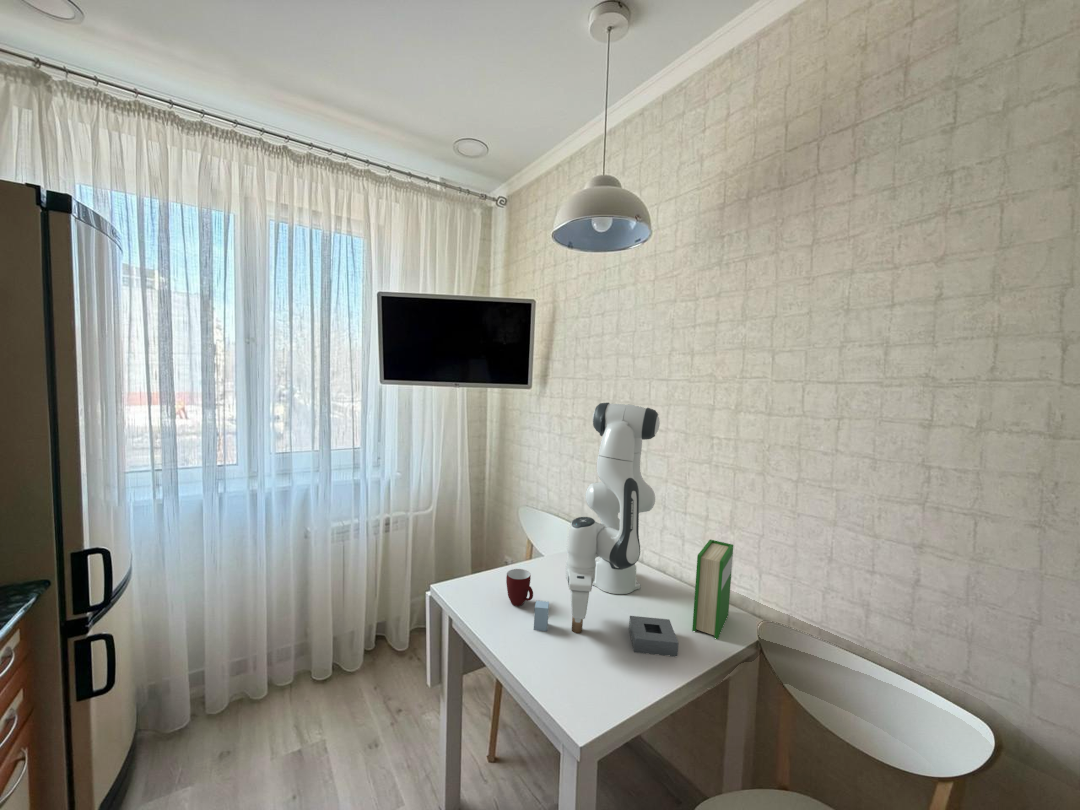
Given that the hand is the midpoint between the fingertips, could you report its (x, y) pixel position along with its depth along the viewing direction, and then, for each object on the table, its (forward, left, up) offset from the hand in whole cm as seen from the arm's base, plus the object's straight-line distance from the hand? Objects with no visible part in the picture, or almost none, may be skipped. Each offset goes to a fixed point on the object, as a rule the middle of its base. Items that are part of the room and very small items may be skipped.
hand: (577, 617), depth 130 cm
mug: (-12, -19, -4) cm, 23 cm away
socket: (+2, +22, -4) cm, 22 cm away
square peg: (0, -11, -4) cm, 12 cm away
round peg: (0, 0, -4) cm, 4 cm away
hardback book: (-12, +43, -4) cm, 45 cm away
